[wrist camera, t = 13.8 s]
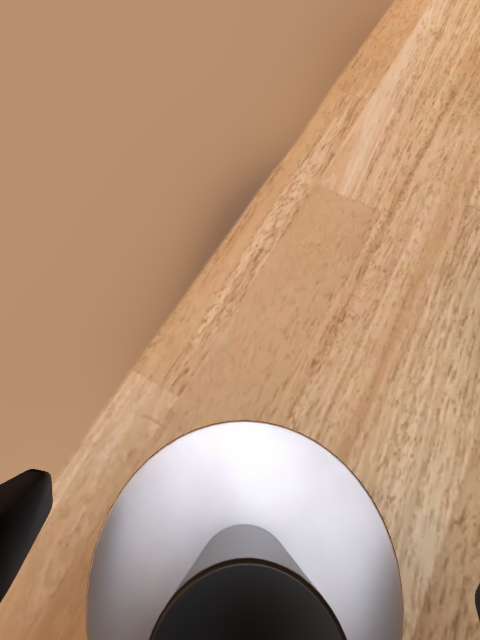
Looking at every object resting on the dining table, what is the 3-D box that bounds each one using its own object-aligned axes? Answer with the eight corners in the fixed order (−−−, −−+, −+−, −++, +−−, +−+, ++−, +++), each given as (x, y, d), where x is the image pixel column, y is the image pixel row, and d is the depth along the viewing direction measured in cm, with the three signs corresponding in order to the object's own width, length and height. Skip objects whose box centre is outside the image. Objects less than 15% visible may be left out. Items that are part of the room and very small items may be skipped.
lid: (457, 689, 10) (831, 1030, 3) (136, 864, 8) (-137, 1827, 2) (315, 386, 13) (382, 290, 7) (67, 482, 11) (-124, 470, 5)
